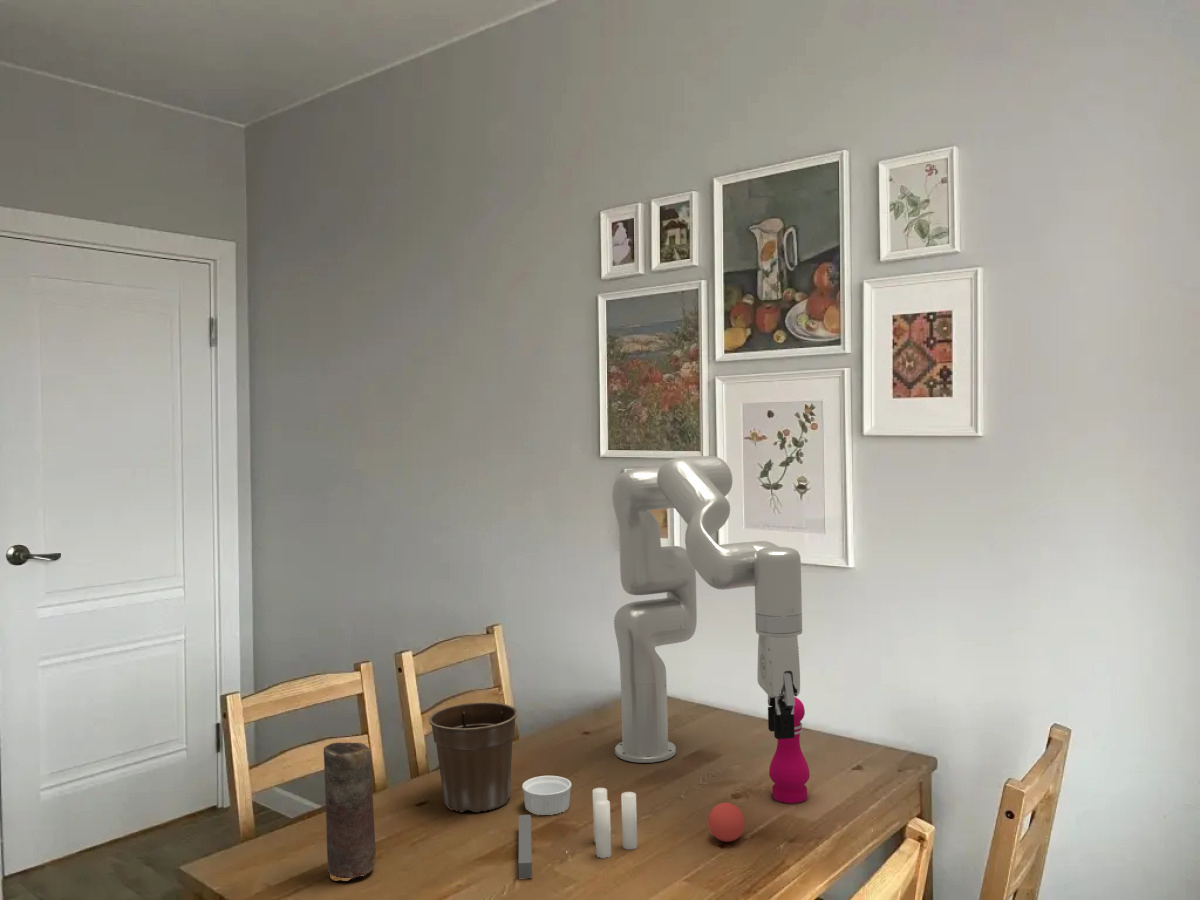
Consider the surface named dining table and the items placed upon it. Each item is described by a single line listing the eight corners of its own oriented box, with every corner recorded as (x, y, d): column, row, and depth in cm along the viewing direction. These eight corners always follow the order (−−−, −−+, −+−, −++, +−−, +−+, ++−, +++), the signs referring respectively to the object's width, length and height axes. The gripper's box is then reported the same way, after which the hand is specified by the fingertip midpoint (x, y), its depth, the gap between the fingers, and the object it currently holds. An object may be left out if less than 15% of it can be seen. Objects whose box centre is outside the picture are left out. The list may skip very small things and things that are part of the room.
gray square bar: (519, 829, 166) (519, 815, 166) (531, 829, 166) (530, 814, 166) (519, 879, 148) (518, 863, 148) (532, 878, 148) (531, 862, 148)
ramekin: (579, 801, 178) (578, 777, 178) (561, 820, 170) (560, 796, 169) (534, 796, 181) (533, 773, 181) (514, 815, 172) (514, 791, 172)
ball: (705, 833, 162) (704, 797, 162) (740, 831, 163) (739, 795, 162) (712, 849, 156) (711, 812, 156) (749, 846, 157) (748, 810, 157)
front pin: (622, 843, 159) (620, 792, 159) (636, 842, 160) (635, 791, 159) (623, 849, 157) (622, 798, 157) (638, 848, 157) (636, 797, 157)
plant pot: (413, 803, 179) (410, 716, 178) (481, 777, 191) (478, 696, 190) (470, 826, 168) (467, 734, 167) (538, 798, 179) (535, 711, 179)
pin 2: (595, 852, 156) (594, 799, 156) (610, 851, 157) (609, 799, 156) (596, 858, 154) (595, 805, 154) (611, 857, 154) (610, 804, 154)
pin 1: (593, 838, 161) (592, 788, 161) (607, 837, 162) (606, 787, 161) (594, 844, 159) (593, 793, 159) (609, 844, 159) (607, 792, 159)
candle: (333, 863, 155) (328, 739, 155) (379, 859, 156) (375, 736, 155) (323, 885, 148) (318, 755, 147) (372, 882, 148) (367, 753, 148)
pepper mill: (810, 805, 172) (807, 694, 172) (769, 803, 174) (766, 693, 173) (809, 790, 179) (807, 683, 179) (770, 788, 181) (767, 682, 180)
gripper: (744, 614, 167) (747, 720, 168) (768, 635, 151) (771, 752, 151) (787, 612, 167) (790, 717, 168) (816, 633, 151) (818, 749, 152)
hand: (781, 733), depth 160 cm, fingers open, 3 cm apart
